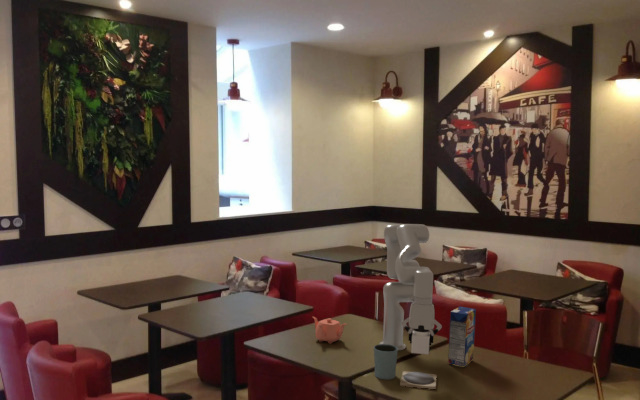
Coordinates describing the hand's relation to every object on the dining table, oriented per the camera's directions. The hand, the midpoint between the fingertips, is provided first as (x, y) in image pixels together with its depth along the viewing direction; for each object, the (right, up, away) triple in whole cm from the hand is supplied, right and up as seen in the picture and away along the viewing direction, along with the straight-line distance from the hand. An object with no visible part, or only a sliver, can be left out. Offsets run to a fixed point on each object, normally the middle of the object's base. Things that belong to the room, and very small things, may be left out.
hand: (420, 343), depth 239 cm
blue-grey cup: (-14, -15, +7) cm, 22 cm away
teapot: (-38, -11, +50) cm, 63 cm away
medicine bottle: (0, -4, 0) cm, 3 cm away
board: (-1, -16, +1) cm, 16 cm away
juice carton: (+22, -15, +26) cm, 38 cm away
